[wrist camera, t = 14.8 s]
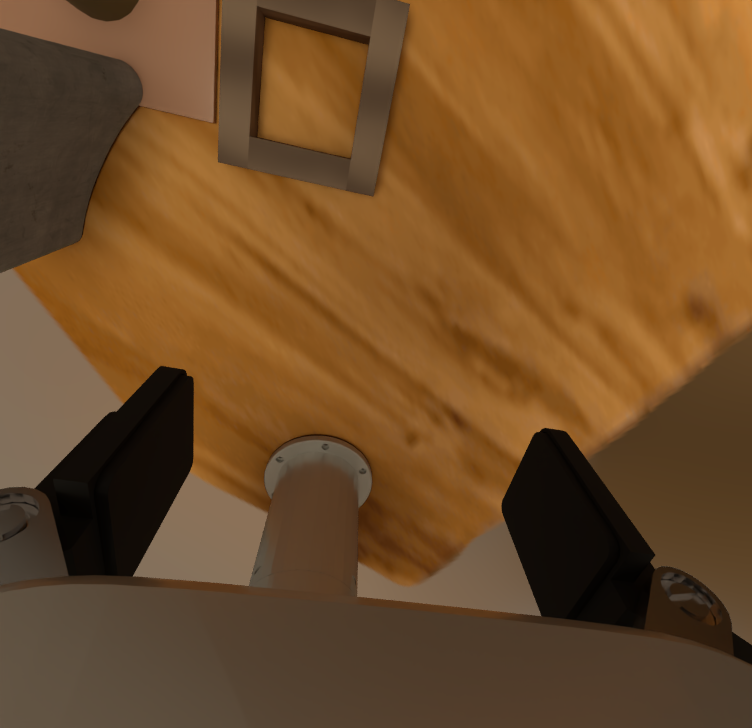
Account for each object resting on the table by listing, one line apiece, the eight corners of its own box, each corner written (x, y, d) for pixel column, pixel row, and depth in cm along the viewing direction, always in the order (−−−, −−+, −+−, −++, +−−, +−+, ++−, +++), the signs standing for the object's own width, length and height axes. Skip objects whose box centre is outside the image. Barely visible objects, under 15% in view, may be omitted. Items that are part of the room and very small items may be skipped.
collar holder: (372, 193, 34) (373, 196, 32) (227, 161, 33) (217, 161, 31) (406, 15, 29) (409, 4, 27) (234, -33, 28) (223, -49, 25)
